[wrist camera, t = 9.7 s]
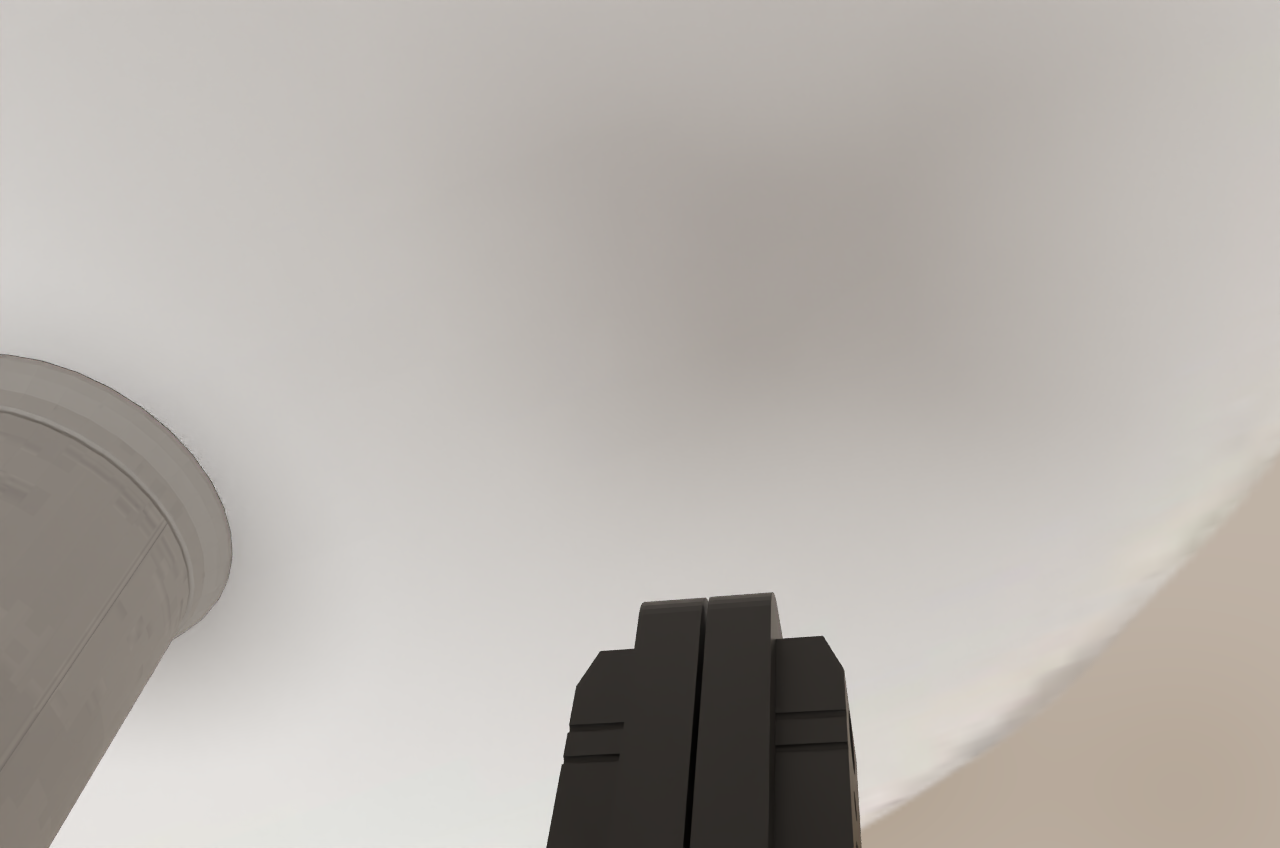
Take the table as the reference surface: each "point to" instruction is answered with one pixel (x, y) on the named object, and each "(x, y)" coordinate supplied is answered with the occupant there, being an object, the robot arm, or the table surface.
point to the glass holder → (88, 578)
